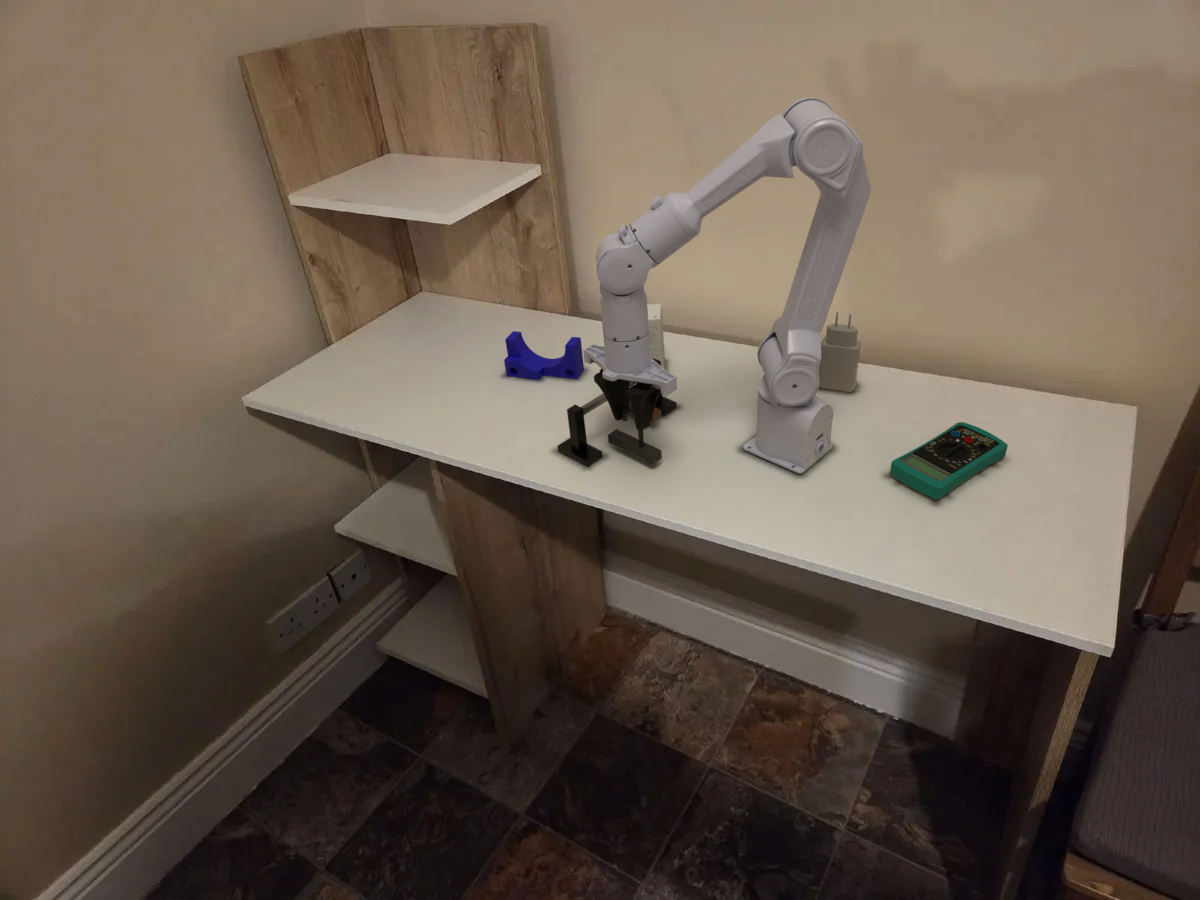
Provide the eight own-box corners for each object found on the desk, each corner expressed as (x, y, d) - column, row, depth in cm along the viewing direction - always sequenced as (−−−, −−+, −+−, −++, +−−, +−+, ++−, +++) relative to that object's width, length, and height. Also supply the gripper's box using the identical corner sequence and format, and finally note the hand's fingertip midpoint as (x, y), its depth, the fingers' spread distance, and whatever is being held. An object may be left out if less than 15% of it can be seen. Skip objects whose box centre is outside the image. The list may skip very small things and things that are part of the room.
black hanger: (662, 458, 109) (660, 417, 105) (653, 464, 108) (651, 423, 104) (617, 436, 114) (613, 396, 110) (608, 442, 113) (604, 402, 109)
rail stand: (677, 407, 121) (675, 363, 117) (587, 467, 111) (582, 421, 106) (647, 395, 125) (644, 351, 120) (557, 451, 114) (551, 406, 110)
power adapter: (852, 392, 120) (861, 319, 113) (816, 387, 122) (822, 315, 115) (856, 382, 122) (865, 310, 115) (820, 377, 124) (827, 305, 118)
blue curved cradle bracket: (506, 376, 133) (501, 343, 130) (517, 363, 136) (512, 331, 133) (574, 383, 129) (570, 350, 126) (584, 370, 133) (580, 337, 129)
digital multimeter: (1008, 457, 105) (1013, 438, 103) (935, 504, 98) (939, 485, 97) (958, 433, 110) (962, 415, 108) (886, 477, 104) (889, 458, 102)
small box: (665, 361, 133) (662, 302, 127) (664, 378, 128) (661, 318, 122) (616, 362, 134) (612, 304, 128) (614, 379, 129) (609, 320, 123)
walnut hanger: (661, 417, 117) (660, 378, 113) (653, 423, 116) (651, 383, 112) (619, 398, 122) (616, 360, 118) (611, 403, 121) (608, 365, 117)
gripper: (562, 328, 103) (573, 417, 110) (648, 361, 94) (653, 455, 102) (601, 308, 106) (609, 395, 114) (686, 337, 98) (688, 430, 105)
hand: (632, 422), depth 108 cm, fingers closed on black hanger, 3 cm apart
